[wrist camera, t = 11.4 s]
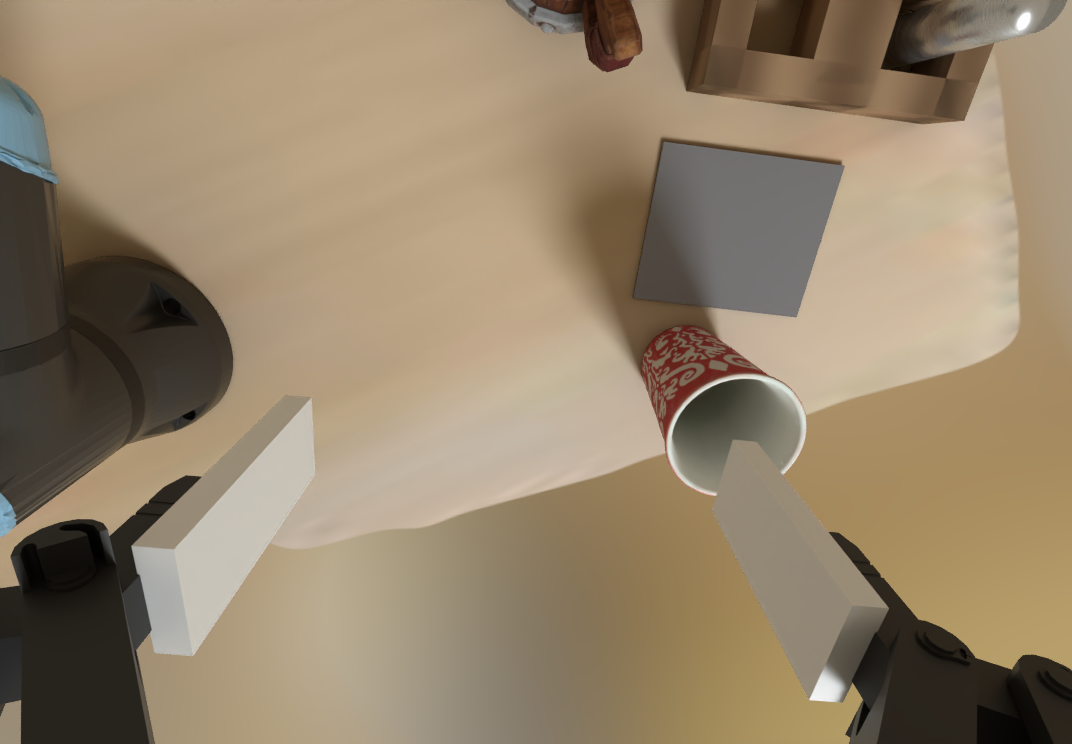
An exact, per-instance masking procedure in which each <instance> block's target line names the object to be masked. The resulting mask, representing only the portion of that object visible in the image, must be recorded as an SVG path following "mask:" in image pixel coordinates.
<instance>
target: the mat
mask: <svg viewBox="0 0 1072 744" xmlns="http://www.w3.org/2000/svg"><path fill="white" fill-rule="evenodd" d="M843 170H844V166H843V165H835V164H828V163H820V162H813V161H805V160H798V159H790V158H783V157H775V156H768V155H760V154H753V153H745V152H738V151H730V150H723V149H715V148H708V147H700V146H693V145H685V144H678V143H670V142H663V145H662V150H661V155H660V160H659V165H658V171H657V176H656V181H655V186H654V191H653V196H652V202H651V207H650V212H649V217H648V222H647V227H646V232H645V238H644V243H643V248H642V253H641V258H640V263H639V269H638V274H637V279H636V284H635V289H634V294H633V298H635V299H644V300H653V301H661V302H670V303H678V304H687V305H696V306H704V307H713V308H721V309H730V310H738V311H747V312H756V313H764V314H773V315H781V316H790V317H797V314H798V311H799V308H800V304H801V301H802V298H803V295H804V292H805V289H806V286H807V283H808V279H809V276H810V273H811V270H812V267H813V264H814V261H815V257H816V254H817V251H818V248H819V245H820V242H821V239H822V235H823V232H824V229H825V226H826V223H827V220H828V217H829V214H830V210H831V207H832V204H833V201H834V198H835V195H836V192H837V188H838V185H839V182H840V179H841V176H842V173H843Z"/></svg>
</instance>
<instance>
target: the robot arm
mask: <svg viewBox="0 0 1072 744" xmlns="http://www.w3.org/2000/svg"><path fill="white" fill-rule="evenodd" d="M56 184H59V177H58V176H57V174H56V173H55V172H54V171H53V170H52V164H51V159H50V153H49V147H48V141H47V135H46V129H45V124H44V119H43V115H42V113H41V111H40V109H39V107H38V105H37V104H36V102H35V101H34V100H33V99H32V98H31V96H30V95H29V94H28V93H27V92H25V91H24V90H23V89H22V88H21V87H19V86H18V85H16V84H15V83H13V82H12V81H10V80H8V79H6V78H4V77H2V76H0V537H2V536H3V535H6V534H7V533H8V532H10V531H11V530H12V529H13V528H14V527H15V526H16V525H18V524H19V523H20V522H22V521H23V520H24V519H26V518H27V517H28V516H30V515H31V514H32V513H34V512H35V511H36V510H38V509H39V508H41V507H42V506H43V505H45V504H46V503H47V502H49V501H50V500H51V499H53V498H54V497H55V496H57V495H58V494H59V493H61V492H62V491H64V490H65V489H66V488H68V487H69V486H70V485H72V484H73V483H74V482H76V481H77V480H78V479H80V478H81V477H82V476H84V475H85V474H86V473H88V472H89V471H91V470H92V469H93V468H95V467H96V466H97V465H99V464H100V463H101V462H103V461H104V460H105V459H107V458H108V457H109V456H111V455H112V454H114V453H115V452H116V451H117V450H119V449H120V448H122V447H123V446H125V445H126V444H129V443H133V442H137V441H140V440H144V439H148V438H152V437H155V436H159V435H163V434H166V433H170V432H174V431H177V430H179V429H182V428H184V427H186V426H188V425H190V424H192V423H194V422H195V421H197V420H198V419H199V418H201V417H202V416H203V415H205V414H206V413H207V412H208V411H210V410H211V409H212V408H213V407H214V406H216V404H217V403H218V402H219V401H220V400H221V399H222V397H223V396H224V394H225V392H226V391H227V389H228V386H229V384H230V380H231V376H232V370H233V354H232V348H231V344H230V340H229V337H228V334H227V332H226V329H225V327H224V325H223V323H222V321H221V319H220V317H219V316H218V314H217V313H216V311H215V310H214V308H213V307H212V306H211V305H210V303H209V302H208V301H207V300H206V299H205V298H204V296H203V295H202V294H201V293H200V292H199V291H197V290H196V289H195V288H194V287H193V286H192V285H191V284H189V283H188V282H187V281H185V280H184V279H182V278H181V277H179V276H178V275H176V274H175V273H173V272H171V271H169V270H167V269H165V268H163V267H161V266H159V265H156V264H154V263H151V262H148V261H144V260H141V259H136V258H130V257H121V256H110V257H101V258H96V259H92V260H88V261H83V262H79V263H75V264H72V265H69V266H66V267H64V262H63V252H62V243H61V233H60V223H59V213H58V203H57V193H56ZM314 476H315V460H314V439H313V419H312V399H311V398H309V397H299V396H289V395H285V396H284V397H283V398H282V399H281V400H280V401H279V402H278V403H277V404H276V405H275V406H274V407H273V408H272V409H271V410H270V411H269V412H268V413H267V414H266V415H265V416H264V417H263V418H262V419H261V420H260V421H259V422H258V423H257V424H256V425H255V426H254V427H253V428H252V429H251V430H250V431H248V432H247V433H246V434H245V435H244V436H243V437H242V438H241V439H240V440H239V441H238V442H237V443H236V444H235V445H234V446H233V447H232V448H231V449H230V450H229V451H228V452H227V453H226V454H225V455H224V456H223V457H222V458H221V459H220V460H219V461H218V462H217V463H216V464H215V465H214V466H213V467H212V468H211V469H210V470H209V471H208V472H207V473H205V474H204V475H203V476H202V477H198V476H187V475H186V476H184V477H182V478H180V479H178V480H176V481H175V482H173V483H171V484H169V485H167V486H165V487H164V488H162V489H161V490H160V491H159V492H158V493H157V494H156V495H155V496H154V497H152V498H151V499H150V500H149V503H148V504H145V505H144V506H142V507H141V508H140V509H139V510H138V511H137V512H136V515H133V516H131V517H130V518H129V519H128V520H127V521H126V522H125V523H124V524H123V525H121V526H120V527H119V528H118V529H117V530H116V531H115V532H114V533H113V534H111V535H110V536H109V533H108V529H107V528H106V527H105V525H104V524H103V523H101V522H98V521H95V520H92V519H76V520H71V521H65V522H60V523H57V524H54V525H51V526H48V527H45V528H42V529H40V530H38V531H37V532H35V533H33V534H31V535H29V536H27V537H26V538H24V539H23V540H22V541H21V542H20V543H19V544H18V545H17V546H15V547H14V550H13V552H12V554H11V556H10V557H11V560H12V563H13V566H14V569H15V572H16V575H17V578H18V581H19V584H20V586H14V587H7V588H0V716H1V713H2V711H3V708H4V706H5V703H9V702H14V701H19V700H21V744H155V742H154V737H153V732H152V726H151V722H150V717H149V711H148V706H147V701H146V696H145V692H144V686H143V681H142V676H141V671H140V666H139V660H138V656H137V652H136V649H137V648H138V647H139V646H140V644H141V643H142V642H143V641H144V639H145V638H146V637H147V636H148V634H149V633H150V634H151V639H152V643H153V648H154V652H155V653H161V654H176V655H189V656H193V655H194V654H195V652H196V651H197V649H198V648H199V646H200V645H201V643H202V642H203V640H204V639H205V637H206V636H207V634H208V633H209V631H210V630H211V629H212V627H213V625H214V624H215V623H216V621H217V620H218V618H219V617H220V615H221V614H222V612H223V611H224V609H225V608H226V606H227V605H228V603H229V602H230V600H231V599H232V597H233V596H234V594H235V593H236V591H237V590H238V589H239V587H240V586H241V584H242V583H243V581H244V579H245V578H246V577H247V575H248V574H249V572H250V571H251V569H252V568H253V566H254V565H255V563H256V562H257V560H258V559H259V557H260V556H261V554H262V553H263V551H264V550H265V549H266V547H267V546H268V544H269V543H270V541H271V540H272V538H273V537H274V535H275V534H276V532H277V531H278V529H279V528H280V526H281V525H282V523H283V522H284V520H285V519H286V517H287V516H288V514H289V513H290V511H291V510H292V508H293V507H294V505H295V504H296V503H297V501H298V500H299V498H300V497H301V495H302V494H303V492H304V491H305V489H306V488H307V486H308V485H309V483H310V482H311V480H312V479H313V477H314ZM712 512H713V514H714V516H715V518H716V520H717V522H718V524H719V526H720V528H721V530H722V531H723V534H724V535H725V537H726V539H727V541H728V543H729V545H730V547H731V549H732V551H733V553H734V555H735V556H736V559H737V561H738V563H739V564H740V567H741V568H742V570H743V572H744V574H745V576H746V578H747V580H748V582H749V584H750V586H751V588H752V590H753V592H754V594H755V596H756V598H757V600H758V601H759V603H760V605H761V607H762V609H763V611H764V613H765V615H766V617H767V619H768V621H769V623H770V625H771V627H772V628H773V631H774V632H775V634H776V636H777V638H778V640H779V642H780V644H781V646H782V648H783V650H784V652H785V654H786V656H787V658H788V660H789V662H790V664H791V666H792V668H793V669H794V671H795V673H796V675H797V677H798V679H799V681H800V683H801V685H802V687H803V689H804V691H805V693H806V695H807V697H808V698H809V700H817V701H831V702H843V701H844V699H845V697H846V695H847V693H848V691H849V689H850V686H851V685H852V683H853V684H854V685H855V687H856V689H857V690H858V692H859V693H860V695H861V697H862V698H863V701H862V703H861V705H860V707H859V709H858V711H857V713H856V715H855V716H854V718H853V720H852V723H851V724H850V727H849V728H848V730H847V732H846V735H847V736H849V737H850V742H849V744H1072V671H1071V670H1070V669H1069V668H1067V667H1066V666H1064V665H1062V664H1059V663H1057V662H1054V661H1052V660H1050V659H1048V658H1044V657H1040V656H1037V655H1023V656H1022V657H1021V658H1020V659H1019V660H1018V662H1017V663H1016V664H1015V666H1014V667H1013V669H1012V670H1011V669H1008V668H1005V667H1002V666H999V665H996V664H992V663H989V662H986V661H983V660H980V659H977V658H975V656H974V655H973V654H972V652H971V651H970V650H969V648H968V647H967V646H966V645H965V644H964V643H963V642H961V641H960V640H959V639H958V638H957V637H956V636H954V635H953V634H951V633H950V632H948V631H946V630H945V629H943V628H941V627H939V626H937V625H934V624H932V623H929V622H927V621H922V620H918V619H917V617H916V616H915V615H914V614H913V613H912V611H911V610H910V609H909V608H908V607H907V606H906V604H905V603H904V602H903V601H902V600H901V598H900V597H899V596H898V595H897V594H896V592H895V591H894V590H893V589H892V588H891V586H890V585H889V584H888V583H887V582H886V581H885V579H884V578H881V576H880V573H879V572H878V571H877V570H876V569H875V567H874V566H873V565H870V561H869V560H868V559H867V558H866V557H865V556H864V554H863V553H862V552H861V551H860V550H859V548H858V547H857V546H855V545H854V544H853V543H851V542H850V541H849V540H847V539H846V538H845V537H843V536H842V535H841V534H839V533H836V532H828V531H827V530H826V529H825V527H824V526H823V525H822V524H821V522H820V521H819V520H818V518H817V517H816V516H815V515H814V513H813V512H812V511H811V510H810V509H809V507H808V506H807V505H806V503H805V502H804V501H803V500H802V498H801V497H800V496H799V495H798V493H797V492H796V491H795V490H794V488H793V487H792V486H791V485H790V483H789V482H788V481H787V480H786V478H785V477H784V476H783V475H782V473H781V472H780V471H779V470H778V468H777V467H776V466H775V464H774V463H773V462H772V461H771V459H770V458H769V457H768V456H767V454H766V453H765V452H764V451H763V449H762V448H761V447H760V446H759V444H758V443H757V442H753V441H743V440H733V441H732V444H731V448H730V451H729V455H728V458H727V461H726V465H725V468H724V471H723V475H722V478H721V482H720V485H719V488H718V492H717V495H716V499H715V502H714V505H713V509H712Z"/></svg>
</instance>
